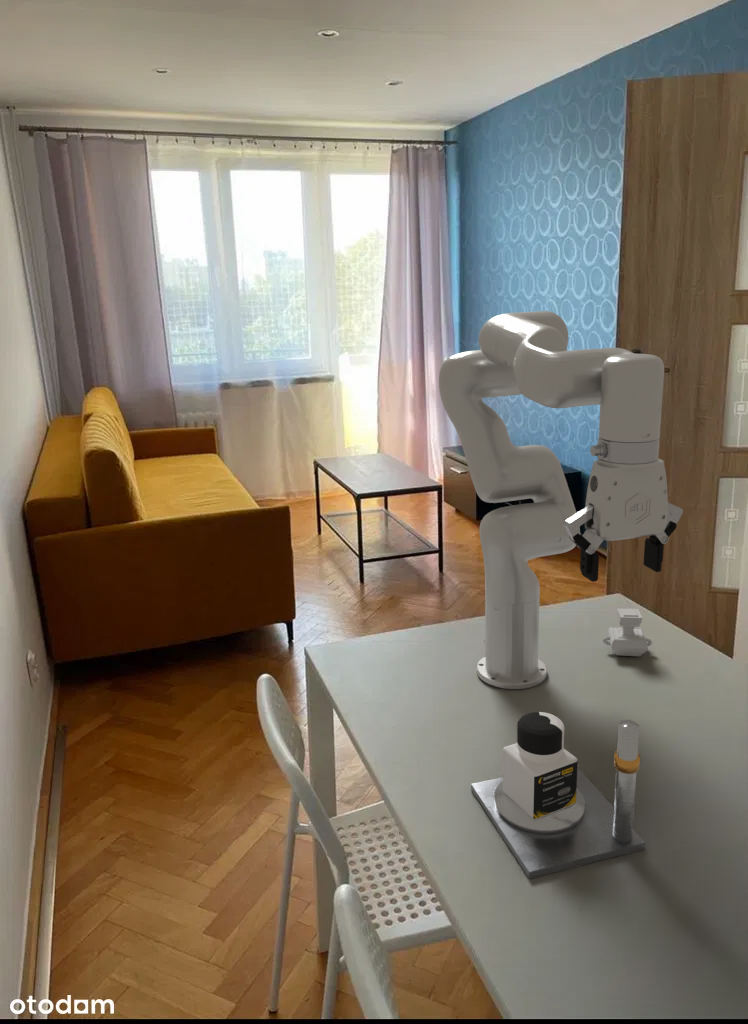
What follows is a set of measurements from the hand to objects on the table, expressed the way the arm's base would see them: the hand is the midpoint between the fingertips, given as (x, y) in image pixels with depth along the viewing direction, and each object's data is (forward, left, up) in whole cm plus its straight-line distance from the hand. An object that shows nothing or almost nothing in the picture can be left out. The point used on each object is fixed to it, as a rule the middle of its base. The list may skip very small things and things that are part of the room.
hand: (621, 573), depth 106 cm
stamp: (-30, +22, -30) cm, 48 cm away
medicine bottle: (+6, -15, -29) cm, 33 cm away
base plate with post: (+8, -14, -30) cm, 34 cm away
